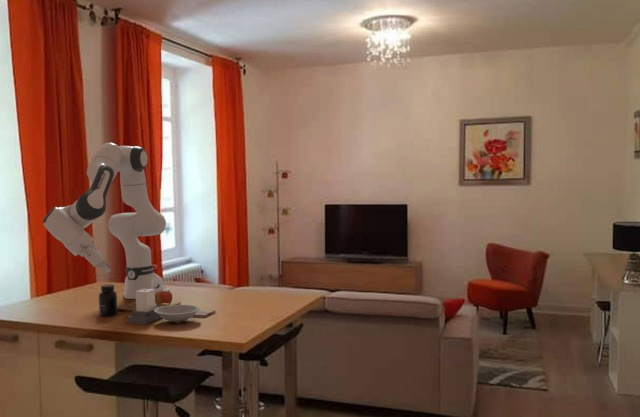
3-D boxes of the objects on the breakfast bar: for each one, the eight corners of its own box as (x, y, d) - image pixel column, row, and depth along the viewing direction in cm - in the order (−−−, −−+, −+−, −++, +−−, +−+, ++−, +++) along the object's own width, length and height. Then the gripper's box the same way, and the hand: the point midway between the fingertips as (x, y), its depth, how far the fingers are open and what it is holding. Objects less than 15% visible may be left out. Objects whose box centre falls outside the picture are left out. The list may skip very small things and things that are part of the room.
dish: (145, 325, 202) (145, 312, 201) (168, 316, 215) (168, 303, 215) (186, 329, 196) (186, 315, 195) (207, 318, 209) (207, 306, 209)
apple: (150, 308, 228) (150, 289, 228) (163, 304, 235) (162, 286, 234) (164, 310, 225) (163, 291, 224) (176, 306, 231) (175, 287, 231)
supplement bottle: (97, 317, 215) (96, 287, 214) (101, 313, 222) (99, 284, 221) (116, 316, 216) (114, 286, 216) (119, 312, 223) (117, 283, 222)
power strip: (167, 307, 230) (166, 297, 230) (183, 307, 228) (183, 298, 228) (127, 323, 206) (127, 312, 205) (145, 324, 203) (145, 313, 203)
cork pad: (197, 311, 221) (197, 309, 221) (215, 312, 219) (215, 310, 219) (187, 316, 214) (186, 313, 214) (205, 317, 211) (204, 315, 211)
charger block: (144, 311, 213) (143, 288, 212) (155, 312, 211) (154, 288, 211) (136, 314, 208) (135, 290, 208) (147, 315, 207) (146, 291, 206)
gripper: (87, 240, 192) (116, 267, 196) (88, 236, 211) (115, 261, 215) (73, 253, 190) (102, 280, 194) (75, 248, 209) (102, 273, 213)
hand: (109, 270), depth 204 cm, fingers open, 8 cm apart
